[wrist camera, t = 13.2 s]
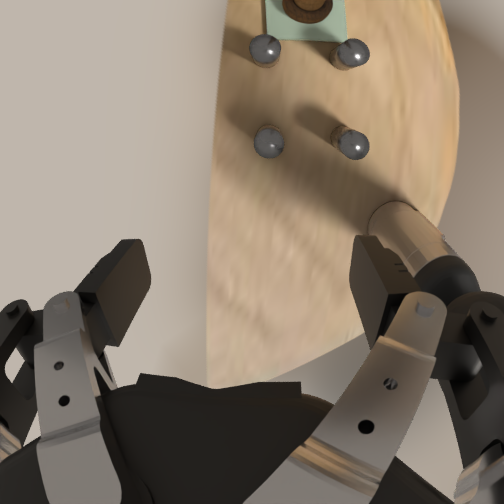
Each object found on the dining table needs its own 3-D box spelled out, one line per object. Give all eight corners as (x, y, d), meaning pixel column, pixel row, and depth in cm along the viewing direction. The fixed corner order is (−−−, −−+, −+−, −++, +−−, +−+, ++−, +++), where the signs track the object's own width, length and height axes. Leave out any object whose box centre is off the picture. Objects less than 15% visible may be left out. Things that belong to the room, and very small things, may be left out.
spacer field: (353, 48, 32) (368, 40, 26) (354, 150, 40) (368, 160, 33) (252, 45, 33) (248, 34, 27) (257, 149, 41) (254, 158, 34)
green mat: (340, -22, 26) (341, -23, 25) (346, 43, 32) (347, 42, 31) (263, -25, 27) (263, -27, 26) (267, 40, 32) (267, 39, 32)
